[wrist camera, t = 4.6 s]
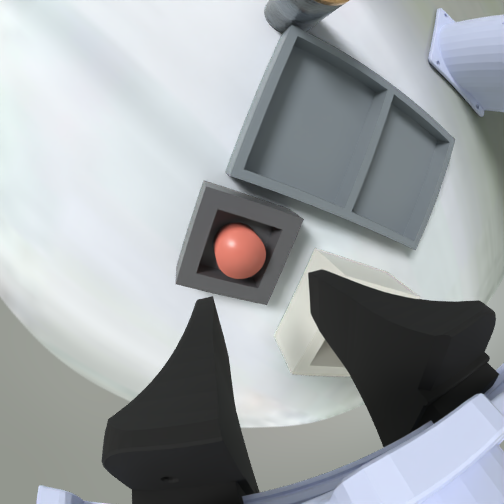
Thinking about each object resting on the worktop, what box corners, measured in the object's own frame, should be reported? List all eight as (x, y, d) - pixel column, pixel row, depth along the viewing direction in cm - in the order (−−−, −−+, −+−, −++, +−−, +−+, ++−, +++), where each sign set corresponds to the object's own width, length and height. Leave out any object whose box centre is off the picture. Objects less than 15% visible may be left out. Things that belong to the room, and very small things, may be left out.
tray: (438, 137, 19) (455, 139, 18) (400, 241, 22) (415, 250, 20) (281, 35, 14) (291, 24, 13) (225, 172, 17) (229, 175, 15)
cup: (387, 272, 23) (420, 297, 19) (347, 345, 25) (370, 376, 21) (314, 247, 20) (345, 275, 16) (273, 335, 23) (291, 374, 19)
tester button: (264, 229, 18) (273, 240, 16) (248, 269, 19) (255, 283, 17) (221, 216, 17) (226, 226, 15) (207, 258, 18) (210, 272, 16)
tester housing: (289, 209, 19) (303, 219, 17) (257, 286, 21) (266, 304, 18) (203, 180, 17) (206, 186, 15) (176, 266, 19) (175, 283, 16)
